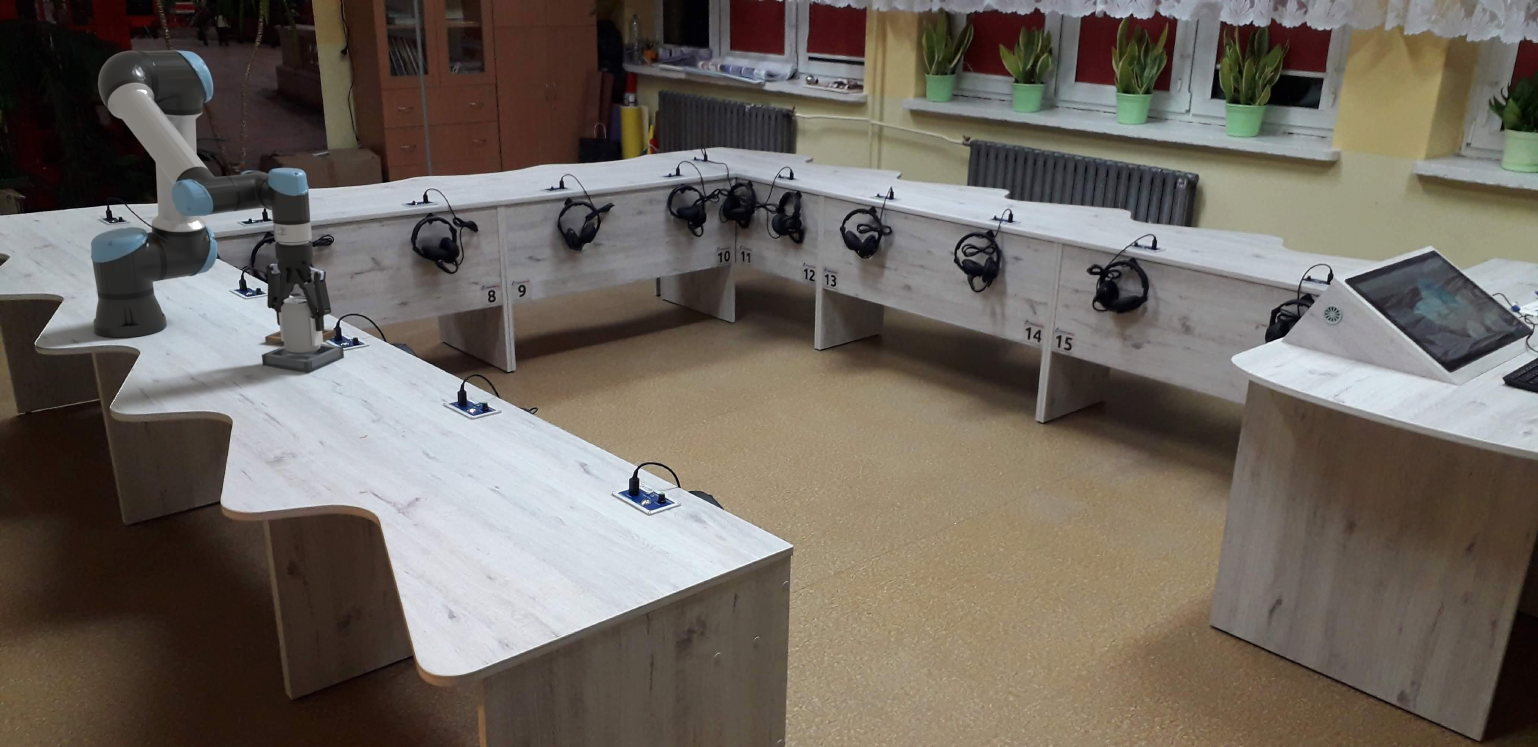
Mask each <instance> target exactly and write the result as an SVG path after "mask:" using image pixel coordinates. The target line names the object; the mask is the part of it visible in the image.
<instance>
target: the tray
mask: <svg viewBox="0 0 1538 747" xmlns="http://www.w3.org/2000/svg"><path fill="white" fill-rule="evenodd" d="M344 358H345V353H344V346H338V345H333V344H326V343H325V344H324V343H322V344H321V347H320V348H319V349H318V350H317V351H316V352H315V353H312V354H308V355H294V354H290V353H289V352H288V351H286V350H285V348H284V346H283V345H282V346H281V347H278V348H274V349H273V350H270V351H268V352H265V353H263V354H261V359H262V366H263V367H271V368H275V369H276V368H277V369H283V370H289V371H293V372H294V371H295V372H301V373H307V374H311V373H313V372H315V371H317V370H319V369H321V368H324V367H326V366H329V365H331V364H333V363H335V362H337V361H340V360H341V359H344Z"/></svg>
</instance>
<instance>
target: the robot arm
mask: <svg viewBox="0 0 1538 747" xmlns="http://www.w3.org/2000/svg"><path fill="white" fill-rule="evenodd" d="M97 86H98V92H99V95H100V96H99V97H100V98H101V100H102V102H103V104H104V106H105V107H106V108H107V110H108V111H109V112H110V113H111V115H113V116H114V117H116V118H117V119H121V120H122V121H123V122H124V123H125V125H126V126H127V127H128V128H129V130H130V131H131V132H132V134H133V135H134V136H135V137H136V139H137V140H138V142H140V144H141V145H142V146H143V147H144V149H145V150H146V151H147V152H148V154H149V156H150V157H151V158H152V159H153V160H154V162H155V173H156V191H157V192H156V193H157V194H156V195H157V213H158V215H156V216H155V217H154V218H153V219H151V231H150V232H147V231H146V230H145V229H144V228H141V227H134V226H133V227H132V226H131V227H126V228H125V227H124V228H123V227H121V228H114V229H110V230H107V231H104V232H102V233H99V234H98V235H95V236H94V237H93V238H92V240H91V242H90V250H91V251H90V254H91V256H90V258H91V261H92V267H93V273H94V279H95V286H96V292H97V293H96V294H97V299H98V300H97V304H96V311H95V318H94V319H93V322H92V325H93V330H94V334H96V335H98V336H102V337H105V338H106V337H107V338H132V337H134V338H135V337H140V336H146V335H151V334H155V333H159V332H161V331H163V330H164V329H166V327H167V318H166V315H165V313H164V312H163V310H162V307H161V306H160V303H159V301H158V299H157V297H156V294H155V289H154V283H155V282H159V281H160V282H161V281H166V280H173V279H178V278H185V277H194V276H196V275H201V274H203V273H204V274H205V273H207V272H208V271H209V270H211V269H212V268H213V266H214V265H215V264H216V260H217V258H218V243H217V240H216V239H215V238H216V237H215V233H214V232H213V230H212V229H211V228H210V227H209V226H207V225H206V221H205V220H203V219H202V218H201V217H206V216H210V215H217V214H224V213H231V212H232V213H233V212H240V211H249V210H254V209H256V210H257V209H265V210H270V211H271V218H272V227H273V228H272V229H273V235H274V236H273V238H274V240H275V243H274V249H275V252H274V253H275V257H276V260H278V261H277V263H276V262H275V263H271V264H268V265H266V266H265V270H266V272H267V275H268V276H267V302H266V303H267V308H268V309H272V310H274V312H276V323H277V325H278V326H279V329H280V330H279V331H280V332H281V341H284V337H283V326H282V315H281V306H282V305H283V304H284V302H283V301H284V300H285V299H287V298H291V297H290V296H291V293H292V288H293V285H294V284H295V285H298V287H299V289H300V290H302V292H303V296H304V297H305V298H306V300H307V303H308V305H309V307H310V310H311V312H312V315H313V316H312V317H310V325H311V337H312V346H317V345H320V344H324V342H323V335H322V330H324V329H325V319H324V316H326V315H327V316H328V315H329V314H331V313H332V307H331V302H330V298H329V293H328V292H329V291H328V288H327V282H326V279H327V278H326V276H327V275H326V274H327V272H326V269H317V268H315V266H314V264H313V259H314V249H313V248H314V247H313V242H312V241H311V240H312V239H313V234H312V223H311V212H310V198H309V196H310V195H309V189H310V188H309V185H308V180H307V173H306V172H305V171H304V170H303V169H300V168H297V167H296V168H293V167H279V168H272V169H270V170H269V171H268V172H264V171H260V170H244V171H242V172H240V174H236V175H225V176H214V175H213V173H212V172H211V171H210V169H209V168H208V167H207V166H206V164H205V163H204V162H203V161H202V160H201V159H200V157H199V156H198V155H197V131H196V130H197V129H196V128H197V126H196V124H197V122H196V120H197V118H199V117H200V116H201V115H203V104H206V103H207V102H209V101H211V99H212V97H213V95H214V83H213V78H212V75H211V72H210V70H209V68H208V66H207V65H206V63H205V61H204V60H203V59H202V58H201V57H200V56H199V55H198V54H196V53H195V52H193V51H188V50H176V49H166V50H165V49H164V50H162V49H161V50H126V51H121V52H119V53H116V54H114V55H112V56H111V57H109V58H108V59H107V60H106V61H105V62H104V64H103V65H102V66H101V69H100V70H99V74H98V81H97ZM317 310H318V311H317Z"/></svg>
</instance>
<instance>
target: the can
mask: <svg viewBox="0 0 1538 747" xmlns="http://www.w3.org/2000/svg"><path fill="white" fill-rule="evenodd" d="M283 302H284V304H283V305H282V306H281V315H282V326H283V337H284V348H285V350H286V351H288V352H289V353H290V354H294V355H308V354H312V353H315V352H316V351H317V350H318V349H319V348H320V347H321V344H320V345H317V346H312V337H311V325H310V317H312V316H313V315H312V312H311V310H310V307H309V305H308V303H307V300H306V298H305V296H291V297H289V298H287V299H285V300H284V301H283ZM317 311H318V310H317Z"/></svg>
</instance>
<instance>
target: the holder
mask: <svg viewBox="0 0 1538 747" xmlns="http://www.w3.org/2000/svg"><path fill="white" fill-rule="evenodd" d="M336 333H337V331H336V329H329V328H324V330H322V335H323V343H324V342H326V341H328V340H331V339H333V338H335V336H336V337H337V334H336ZM264 340H265V343H266V344H272V345H277V346H282V347H283V346H284V341H281V332H280V330H279V331H276V332H274V333H271V334H268V335H265V337H264Z"/></svg>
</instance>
